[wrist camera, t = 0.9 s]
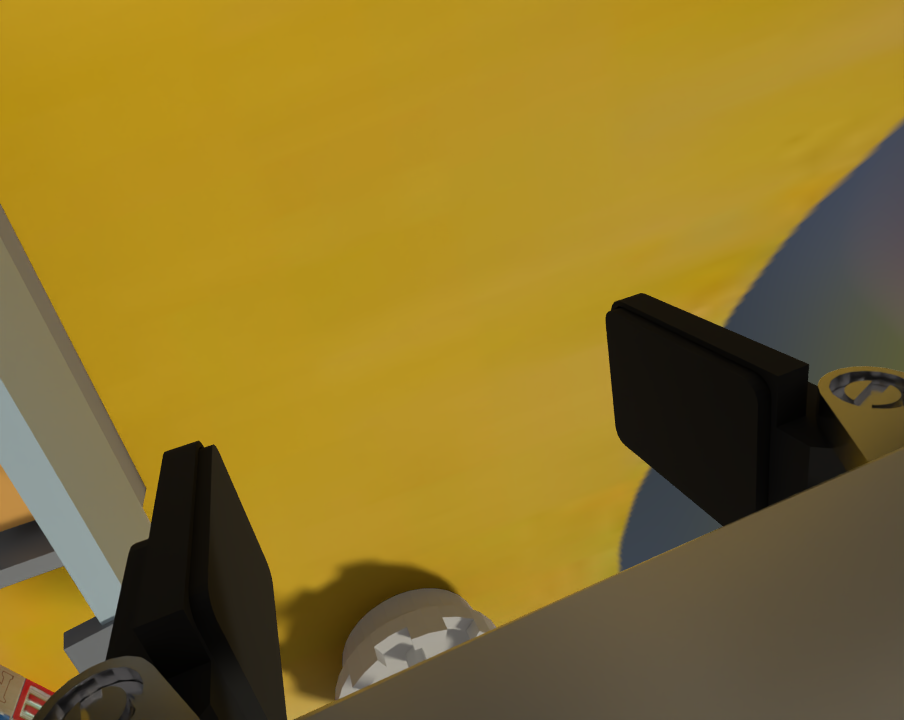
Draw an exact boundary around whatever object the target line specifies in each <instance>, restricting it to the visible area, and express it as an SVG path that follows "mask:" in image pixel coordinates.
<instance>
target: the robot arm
mask: <svg viewBox="0 0 904 720" xmlns="http://www.w3.org/2000/svg"><path fill="white" fill-rule="evenodd" d="M606 331H607V342H608V352H609V363H610V373H611V384H612V394H613V405H614V415H615V426H616V431H617V434H618V436H619V438H620V440H621V441H622V443H623V444H624V445H625V446H627V447H628V448H629V449H630V450H632V451H633V452H634V453H635V454H636V455H638V456H639V457H640V458H641V459H642V460H644V461H645V462H646V463H647V464H648V465H650V466H651V467H652V468H653V469H655V470H656V471H657V472H658V473H659V474H660V475H662V476H663V477H664V478H665V479H667V480H668V481H669V482H670V483H671V484H673V485H674V486H675V487H676V488H677V489H679V490H680V491H681V492H682V493H683V494H685V495H686V496H687V497H688V498H690V499H691V500H692V501H693V502H694V503H696V504H697V505H698V506H699V507H700V508H702V509H703V510H704V511H705V512H706V513H708V514H709V515H710V516H711V517H712V518H714V519H715V520H716V521H717V522H718V523H720V524H721V525H722V526H723V527H721V528H719V529H717V530H714V531H712V532H710V533H707V534H705V535H703V536H701V537H698V538H696V539H694V540H692V541H690V542H687V543H685V544H683V545H680V546H678V547H676V548H674V549H672V550H669V551H667V552H665V553H663V554H660V555H658V556H656V557H653V558H651V559H649V560H647V561H645V562H642V563H640V564H638V565H636V566H633V567H631V568H629V569H627V570H624V571H622V572H620V573H618V574H615V575H613V576H611V577H609V578H606V579H604V580H602V581H600V582H598V583H595V584H593V585H591V586H589V587H586V588H584V589H582V590H580V591H577V592H575V593H573V594H571V595H568V596H566V597H564V598H562V599H560V600H557V601H555V602H553V603H551V604H548V605H546V606H544V607H542V608H539V609H537V610H535V611H533V612H531V613H528V614H526V615H524V616H522V617H519V618H517V619H515V620H513V621H510V622H508V623H506V624H504V625H501V626H499V627H497V628H495V629H493V630H490V631H488V632H486V633H484V634H481V635H479V636H477V637H475V638H473V639H470V640H468V641H466V642H464V643H462V644H459V645H457V646H455V647H453V648H451V649H448V650H446V651H444V652H442V653H440V654H437V655H435V656H433V657H431V658H428V659H426V660H424V661H422V662H420V663H417V664H415V665H413V666H411V667H409V668H406V669H404V670H402V671H400V672H398V673H395V674H393V675H391V676H389V677H387V678H384V679H382V680H380V681H378V682H376V683H373V684H371V685H369V686H367V687H364V688H362V689H360V690H358V691H356V692H353V693H351V694H349V695H347V696H345V697H342V698H340V699H338V700H336V701H334V702H331V703H329V704H327V705H325V706H323V707H320V708H318V709H316V710H314V711H312V712H309V713H307V714H305V715H303V716H300V717H298V718H296V719H294V720H904V372H901V371H896V370H892V369H888V368H880V367H871V366H866V367H865V366H864V367H848V368H842V369H838V370H835V371H832V372H829V373H828V374H826V375H825V376H823V377H822V378H821V379H820V381H819V383H818V386H816V385H814V384H811V383H810V382H808V371H809V364H807V363H805V362H802V361H800V360H797V359H795V358H793V357H791V356H788V355H786V354H784V353H781V352H779V351H777V350H774V349H772V348H769V347H767V346H765V345H763V344H760V343H758V342H756V341H753V340H751V339H749V338H746V337H744V336H742V335H740V334H737V333H735V332H733V331H730V330H728V329H726V328H723V327H721V326H719V325H716V324H714V323H712V322H709V321H707V320H705V319H702V318H700V317H698V316H695V315H693V314H691V313H688V312H686V311H684V310H681V309H679V308H677V307H674V306H672V305H670V304H667V303H665V302H663V301H660V300H658V299H656V298H653V297H651V296H649V295H646V294H643V293H640V294H637V295H634V296H631V297H628V298H625V299H622V300H619V301H616V302H614V303H613V305H612V308H611V311H609V312H608V313H607V314H606ZM32 720H287V715H286V706H285V696H284V687H283V677H282V668H281V658H280V648H279V639H278V629H277V620H276V610H275V601H274V591H273V582H272V577H271V573H270V570H269V567H268V564H267V561H266V559H265V557H264V554H263V552H262V550H261V547H260V545H259V543H258V541H257V538H256V536H255V534H254V531H253V529H252V527H251V525H250V522H249V520H248V518H247V515H246V513H245V511H244V508H243V506H242V504H241V502H240V499H239V497H238V495H237V492H236V490H235V488H234V486H233V483H232V481H231V479H230V476H229V474H228V472H227V469H226V467H225V465H224V463H223V460H222V458H221V456H220V453H219V451H218V449H217V448H216V446H215V445H211V446H208V447H205V448H204V446H203V445H202V443H201V442H200V441H196V442H193V443H190V444H187V445H184V446H181V447H178V448H175V449H172V450H169V451H166V452H164V454H163V459H162V465H161V470H160V476H159V482H158V487H157V493H156V499H155V504H154V510H153V516H152V521H151V527H150V533H149V538H148V539H146V540H143V541H140V542H137V543H135V544H133V545H132V546H131V548H130V550H129V553H128V558H127V562H126V567H125V572H124V576H123V581H122V586H121V590H120V595H119V600H118V604H117V609H116V613H115V618H114V623H113V627H112V632H111V637H110V641H109V646H108V651H107V655H106V660H105V661H104V662H101V663H99V664H97V665H94V666H92V667H90V668H88V669H86V670H85V671H83V672H82V673H80V674H79V675H77V676H75V677H74V678H72V679H71V680H69V681H68V682H67V683H66V684H65V685H63V686H62V687H61V688H60V689H59V690H58V691H56V692H55V693H54V694H53V695H52V696H51V697H50V698H49V699H48V700H47V701H46V703H45V704H44V705H43V706H42V707H41V708H40V710H39V711H38V712H37V713H36V714H35V716H34V717H33V719H32Z"/></svg>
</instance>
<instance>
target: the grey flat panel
mask: <svg viewBox="0 0 904 720" xmlns="http://www.w3.org/2000/svg"><path fill="white" fill-rule="evenodd" d="M0 464H1V466H2V468H3V469H4V471H5V472H6V474H7V476H8V477H9V479H10V480H11V482H12V483H13V485H14V487H15V488H16V490H17V491H18V493H19V495H20V496H21V498H22V499H23V501H24V503H25V504H26V506H27V507H28V509H29V511H30V512H31V514H32V515H33V517H34V518H35V520H36V522H37V523H38V525H39V526H40V528H41V530H42V531H43V533H44V534H45V536H46V538H47V539H48V541H49V542H50V544H51V546H52V547H53V549H54V550H55V552H56V554H57V555H58V557H59V558H60V560H61V561H62V563H63V565H64V566H65V568H66V569H67V571H68V573H69V574H70V576H71V577H72V579H73V581H74V582H75V584H76V585H77V587H78V589H79V590H80V592H81V593H82V595H83V596H84V598H85V600H86V601H87V603H88V604H89V606H90V608H91V609H92V611H93V612H94V614H95V616H96V617H94V618H92V619H90V620H88V621H86V622H84V623H82V624H80V625H78V626H76V627H74V628H72V629H70V630H68V631H66V632H64V651H65V652H66V654H67V655H68V657H69V658H70V660H71V661H72V662H73V664H74V665H75V667H76V668H77V670H78V671H79V673H82V672H83V671H85V670H86V669H88V668H90V667H92V666H94V665H97V664H99V663H101V662H104V661H105V660H106V655H107V651H108V646H109V641H110V637H111V632H112V627H113V623H114V618H115V613H116V609H117V604H118V600H119V595H120V590H121V586H122V581H123V576H124V572H125V567H126V562H127V558H128V553H129V550H130V548H131V546H132V545H133V544H135V543H137V542H140V541H143V540H146V539H148V538H149V533H150V527H151V523H150V521H149V519H148V517H147V515H146V513H145V512H144V510H143V508H142V506H141V504H140V502H139V500H138V498H137V496H136V494H135V492H134V491H133V489H132V487H131V485H130V483H129V481H128V479H127V477H126V475H125V473H124V471H123V470H122V468H121V466H120V464H119V462H118V460H117V458H116V456H115V454H114V452H113V451H112V449H111V447H110V445H109V443H108V441H107V439H106V437H105V435H104V433H103V431H102V430H101V428H100V426H99V424H98V422H97V420H96V418H95V416H94V414H93V412H92V411H91V409H90V407H89V405H88V403H87V401H86V399H85V397H84V395H83V393H82V391H81V390H80V388H79V386H78V384H77V382H76V380H75V378H74V376H73V374H72V372H71V370H70V369H69V367H68V365H67V363H66V361H65V359H64V357H63V355H62V353H61V351H60V350H59V348H58V346H57V344H56V342H55V340H54V338H53V336H52V334H51V332H50V330H49V329H48V327H47V325H46V323H45V321H44V319H43V317H42V315H41V313H40V311H39V310H38V308H37V306H36V304H35V302H34V300H33V298H32V296H31V294H30V292H29V290H28V289H27V287H26V285H25V283H24V281H23V279H22V277H21V275H20V273H19V271H18V270H17V268H16V266H15V264H14V262H13V260H12V258H11V256H10V254H9V252H8V250H7V249H6V247H5V245H4V243H3V241H2V239H1V237H0Z"/></svg>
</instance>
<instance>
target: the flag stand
mask: <svg viewBox="0 0 904 720" xmlns="http://www.w3.org/2000/svg"><path fill="white" fill-rule="evenodd" d="M495 628H496V626H495V625H494V624H493V622H492V621H491V620H490V619H489V618H487V617H486V616H484V615H483V614H482V613H480V612H478V611H475V610H473V609H472V608H471V606H470V605H469V604H468V603H467V601H466V600H464V599H463V598H462V597H460V596H459V595H457V594H455V593H453V592H450V591H448V590H442V589H437V588H423V589H417V590H411V591H407V592H404V593H401V594H398V595H395V596H393V597H391V598H389V599H387V600H385V601H383V602H382V603H380V604H379V605H377V606H376V607H375V608H373V609H372V610H370V611H369V612H368V613H367V614H366V615H365V616H364V617H363V618H362V619H361V620H360V621H359V622H358V623H357V625H356V626H355V627H354V629H353V630H352V631H351V633H350V635H349V637H348V639H347V641H346V643H345V647H344V651H343V658H342V666H343V668H342V670H341V672H340V674H339V677H338V681H337V685H336V688H335V701H336V700H338V699H340V698H342V697H345V696H347V695H349V694H351V693H353V692H356V691H358V690H360V689H362V688H364V687H367V686H369V685H371V684H373V683H376V682H378V681H380V680H382V679H384V678H387V677H389V676H391V675H393V674H395V673H398V672H400V671H402V670H404V669H406V668H409V667H411V666H413V665H415V664H417V663H420V662H422V661H424V660H426V659H428V658H431V657H433V656H435V655H437V654H440V653H442V652H444V651H446V650H448V649H451V648H453V647H455V646H457V645H459V644H462V643H464V642H466V641H468V640H470V639H473V638H475V637H477V636H479V635H481V634H484V633H486V632H488V631H490V630H493V629H495Z"/></svg>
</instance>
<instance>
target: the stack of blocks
mask: <svg viewBox="0 0 904 720" xmlns="http://www.w3.org/2000/svg"><path fill="white" fill-rule="evenodd" d="M53 694H54V692H52V691H50V690H48V689H46V688H44V687H42V686H40V685H38V684H36V683H34V682H32V681H30V680H28V679H26V678H24V677H23V676H21V675H19V674H17V673H15V672H13V671H11V670H9V669H8V668H6V667H4V666H2V665H0V720H32V719H33V717H34V716H35V714H36V713H37V712H38V711H39V710H40V708H41V707H42V706H43V705H44V704H45V703H46V701H47V700H48V699H49V698H50V697H51V696H52V695H53Z"/></svg>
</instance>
